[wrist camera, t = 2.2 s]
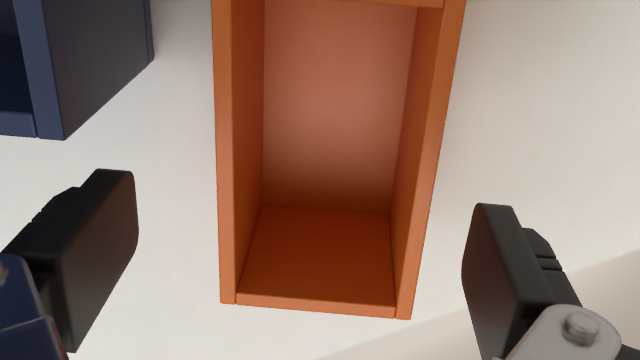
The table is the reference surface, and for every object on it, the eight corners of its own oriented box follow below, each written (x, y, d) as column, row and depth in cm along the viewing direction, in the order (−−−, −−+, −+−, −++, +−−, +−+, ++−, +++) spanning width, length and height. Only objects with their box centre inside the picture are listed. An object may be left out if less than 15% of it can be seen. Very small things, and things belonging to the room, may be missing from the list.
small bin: (438, -45, 19) (468, -12, 13) (399, 219, 23) (410, 321, 18) (252, -58, 19) (209, -30, 13) (251, 206, 23) (219, 304, 18)
